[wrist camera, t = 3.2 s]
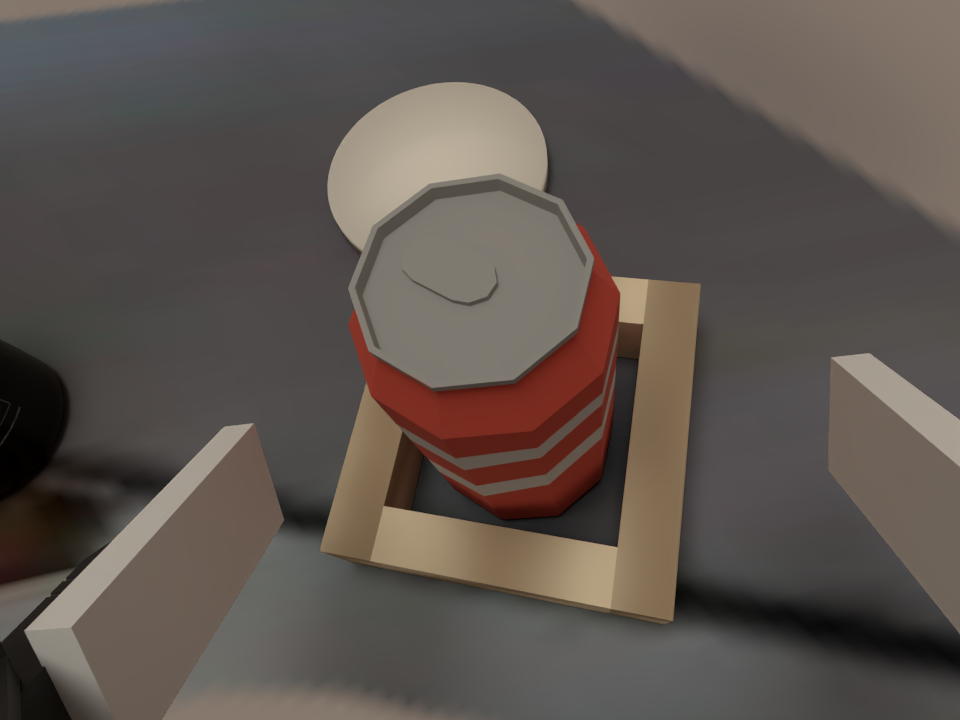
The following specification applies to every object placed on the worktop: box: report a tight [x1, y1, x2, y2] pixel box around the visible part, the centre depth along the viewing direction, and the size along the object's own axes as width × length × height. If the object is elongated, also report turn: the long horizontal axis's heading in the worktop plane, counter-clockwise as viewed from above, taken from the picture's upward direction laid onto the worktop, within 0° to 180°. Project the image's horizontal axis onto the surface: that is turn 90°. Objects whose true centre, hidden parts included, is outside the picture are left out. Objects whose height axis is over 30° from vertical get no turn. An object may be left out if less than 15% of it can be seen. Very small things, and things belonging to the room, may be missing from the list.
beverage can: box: [348, 174, 620, 520], centre depth 19 cm, size 6×6×12 cm
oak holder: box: [320, 277, 701, 625], centre depth 23 cm, size 11×11×3 cm
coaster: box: [328, 82, 549, 254], centre depth 30 cm, size 10×10×1 cm
